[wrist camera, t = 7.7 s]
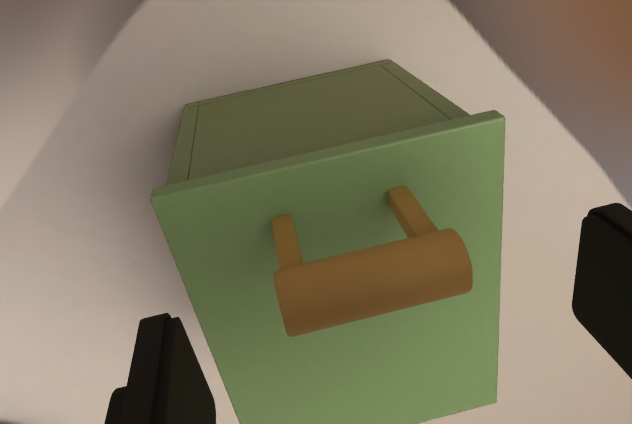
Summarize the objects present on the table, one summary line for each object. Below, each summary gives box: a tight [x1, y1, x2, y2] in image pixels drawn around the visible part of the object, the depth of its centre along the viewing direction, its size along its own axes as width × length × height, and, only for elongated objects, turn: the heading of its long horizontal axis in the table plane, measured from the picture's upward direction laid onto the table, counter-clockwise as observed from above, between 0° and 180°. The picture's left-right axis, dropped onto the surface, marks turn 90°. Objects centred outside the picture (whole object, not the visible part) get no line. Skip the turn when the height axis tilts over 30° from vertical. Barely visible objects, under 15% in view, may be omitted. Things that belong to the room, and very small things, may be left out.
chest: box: [167, 60, 470, 185], centre depth 26 cm, size 14×12×12 cm
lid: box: [150, 110, 505, 424], centre depth 18 cm, size 14×12×6 cm
